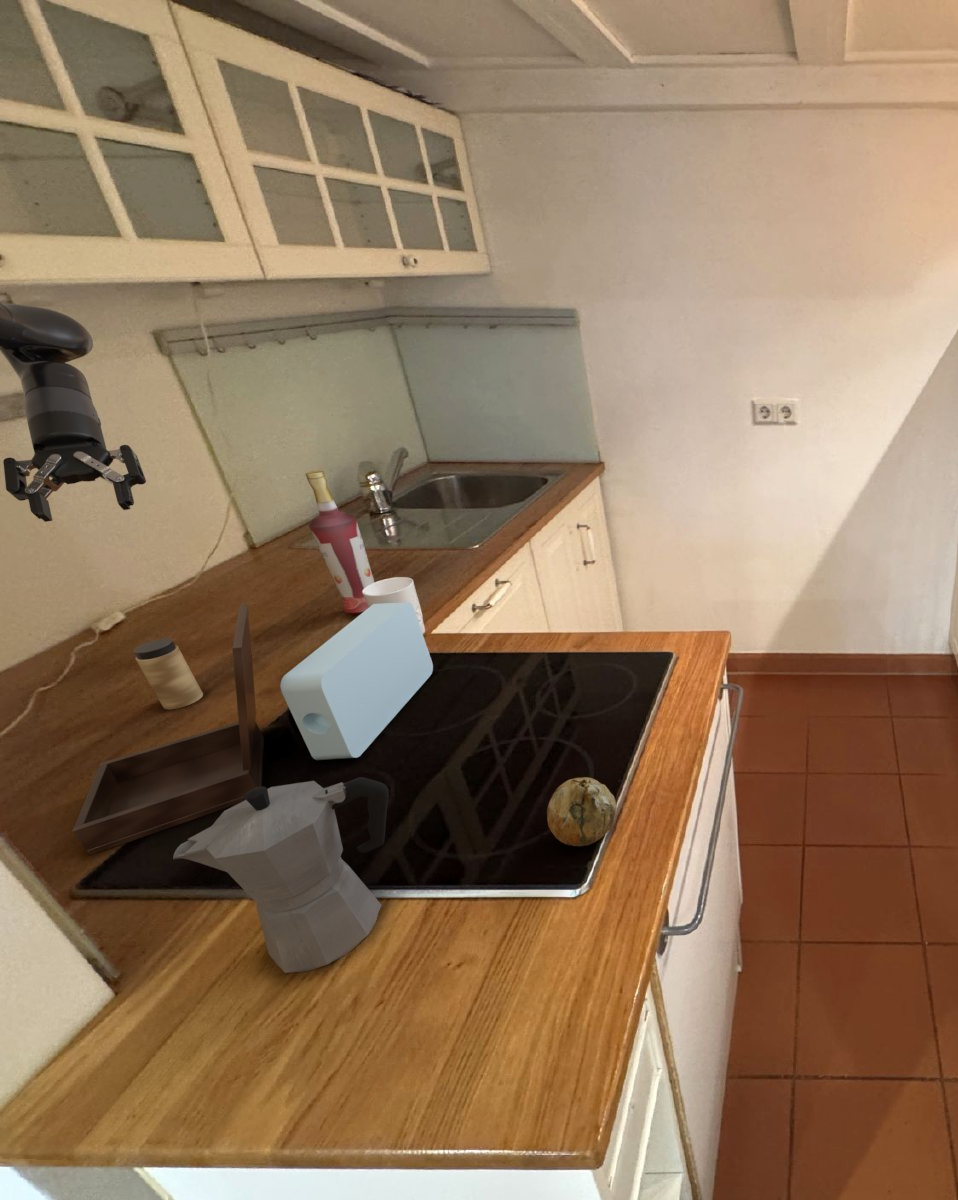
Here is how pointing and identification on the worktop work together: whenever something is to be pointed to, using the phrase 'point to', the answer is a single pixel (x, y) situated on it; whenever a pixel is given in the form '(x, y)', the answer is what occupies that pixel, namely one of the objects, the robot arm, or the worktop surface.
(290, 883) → the coffeepot
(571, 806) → the onion
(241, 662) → the chest lid
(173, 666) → the beige jar
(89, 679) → the worktop surface
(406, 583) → the white cup
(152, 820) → the chest
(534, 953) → the worktop surface
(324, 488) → the liquor
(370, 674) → the pale blue rectangular block
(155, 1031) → the worktop surface
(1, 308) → the robot arm
